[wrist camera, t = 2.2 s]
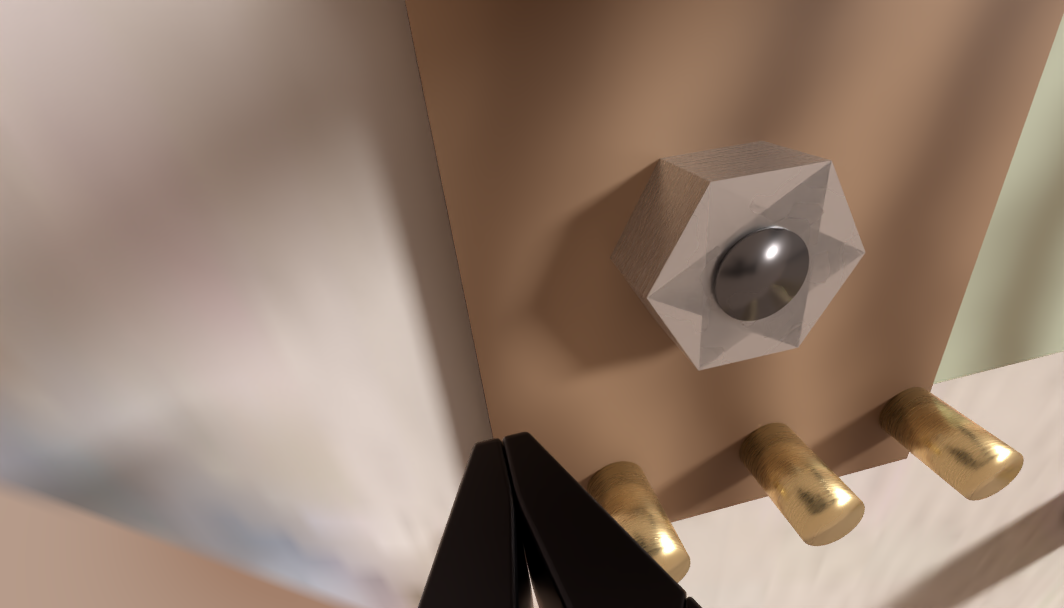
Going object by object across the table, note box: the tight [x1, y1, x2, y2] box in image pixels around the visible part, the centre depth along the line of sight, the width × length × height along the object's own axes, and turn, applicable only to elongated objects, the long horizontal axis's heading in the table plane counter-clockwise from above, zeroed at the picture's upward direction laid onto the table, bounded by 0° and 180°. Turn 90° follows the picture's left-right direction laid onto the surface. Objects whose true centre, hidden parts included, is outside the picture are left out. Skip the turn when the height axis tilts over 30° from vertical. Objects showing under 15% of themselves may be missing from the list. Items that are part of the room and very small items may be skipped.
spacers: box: [587, 387, 1024, 583], centre depth 13 cm, size 14×20×4 cm
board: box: [405, 0, 1064, 561], centre depth 15 cm, size 24×24×1 cm
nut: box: [610, 141, 865, 370], centre depth 13 cm, size 6×5×3 cm
